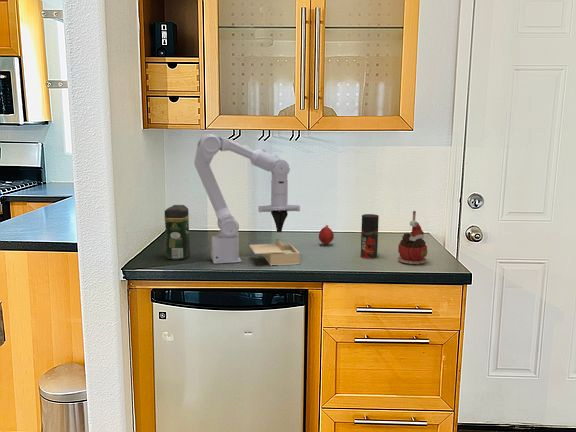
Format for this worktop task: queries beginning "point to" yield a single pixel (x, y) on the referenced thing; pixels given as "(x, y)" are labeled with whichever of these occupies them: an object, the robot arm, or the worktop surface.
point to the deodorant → (369, 236)
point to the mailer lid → (268, 248)
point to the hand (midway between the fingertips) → (279, 231)
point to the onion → (326, 235)
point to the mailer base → (284, 257)
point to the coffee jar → (177, 232)
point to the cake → (413, 245)
